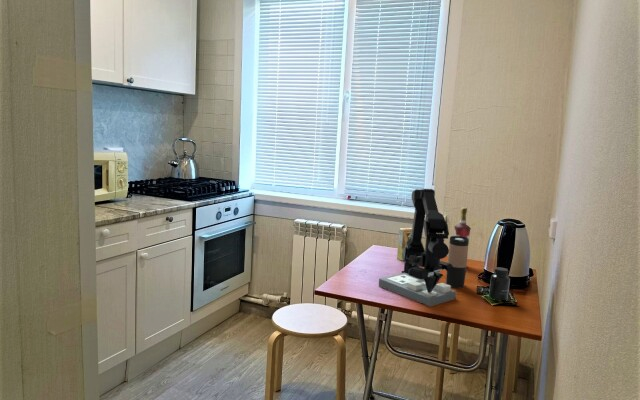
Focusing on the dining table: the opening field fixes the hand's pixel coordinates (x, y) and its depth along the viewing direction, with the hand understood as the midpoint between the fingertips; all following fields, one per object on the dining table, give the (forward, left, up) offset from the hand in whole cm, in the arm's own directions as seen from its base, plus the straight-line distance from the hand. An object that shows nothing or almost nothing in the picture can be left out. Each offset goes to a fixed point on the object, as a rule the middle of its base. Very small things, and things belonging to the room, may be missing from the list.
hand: (429, 292), depth 173 cm
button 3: (0, 0, -3) cm, 3 cm away
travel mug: (-25, -6, -4) cm, 26 cm away
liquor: (-50, -22, -4) cm, 55 cm away
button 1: (0, -7, -2) cm, 7 cm away
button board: (-4, -9, -4) cm, 11 cm away
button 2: (-8, -7, -3) cm, 11 cm away
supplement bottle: (-26, +13, -4) cm, 29 cm away
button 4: (-8, 0, -2) cm, 8 cm away
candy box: (-37, -43, -4) cm, 57 cm away
